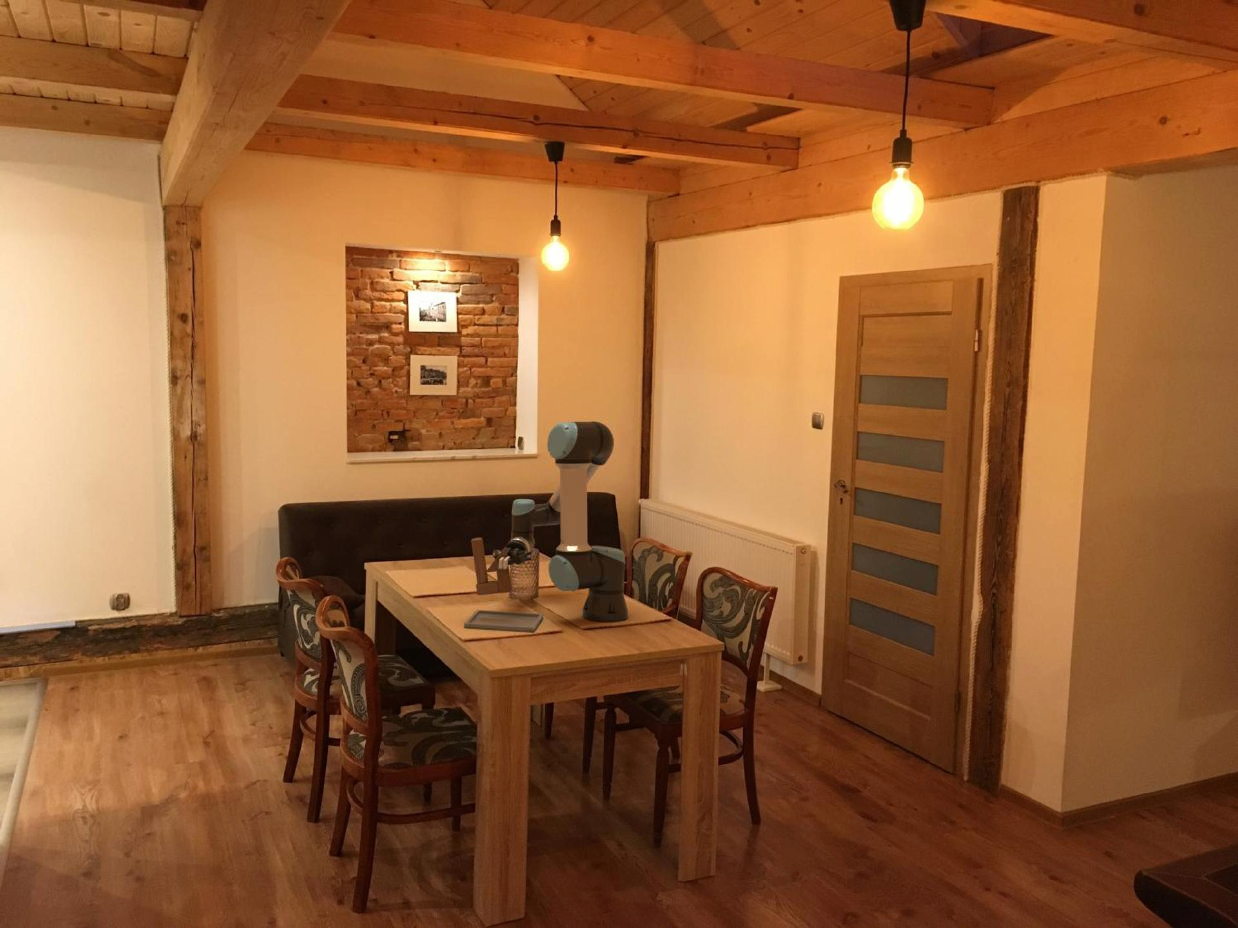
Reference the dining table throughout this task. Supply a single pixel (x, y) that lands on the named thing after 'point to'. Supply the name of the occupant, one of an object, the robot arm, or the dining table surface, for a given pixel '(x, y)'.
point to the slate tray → (504, 621)
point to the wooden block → (481, 571)
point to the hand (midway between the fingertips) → (502, 564)
